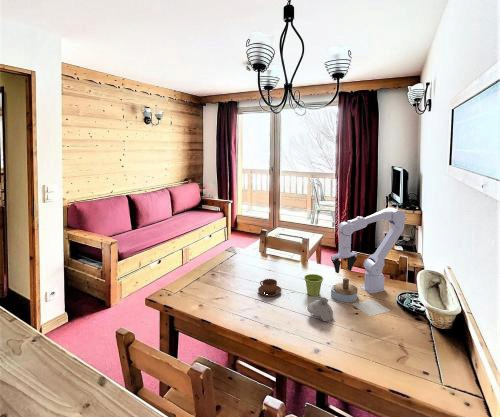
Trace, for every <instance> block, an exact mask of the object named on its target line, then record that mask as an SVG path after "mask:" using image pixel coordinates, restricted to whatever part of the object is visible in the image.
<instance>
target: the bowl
mask: <svg viewBox="0 0 500 417" xmlns="http://www.w3.org/2000/svg"><path fill="white" fill-rule="evenodd" d="M335 285H336V284H332V286H331V290H330V297H331V298H333V299H334V300H336V301H338V302H343V303H344V302H345V303H351V302H356V301H357V300H358V288H357V293H356V294H353V295H343V294H339V293H337V292H336V291H335V290H334V286H335Z"/></svg>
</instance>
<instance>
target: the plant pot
mask: <svg viewBox="0 0 500 417" xmlns="http://www.w3.org/2000/svg"><path fill="white" fill-rule="evenodd" d="M303 279H304V281H305V287H306V293H307V295H309V296H311V297H313V296H314V297H316V296H319V295H320V292H321V287H322V283H323V280H324V277H323V276H322V275H319V274H316V273H315V274H314V273H311V274H309V273H308V274H305V275H304V277H303Z"/></svg>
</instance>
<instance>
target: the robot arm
mask: <svg viewBox="0 0 500 417" xmlns="http://www.w3.org/2000/svg"><path fill="white" fill-rule="evenodd" d="M382 220H386V221H388V223H389V225H390V229H389V230H388V232H387V233H386V235H385V236H384V238H383V240H382V241H381V243H380V244H379V246H378V247H377V249H376V250H375V252H374V253H372V254H370V255H369V256H368V257H367V258H366V259H364V261H363V268H365V271H364V284H363V286H360V288H361V290H364V291H365V292H367V293H369V294H376V293H379V292H385V291H386V289H385V280H386V277H385V274H383V268H384V266H385V259H386V257H387V256H388V254H389V253H390V251H391V250H392V248H393V247H394V246H395V243H396V242H397V241H398V239H399V238H400V236H401V235H402V234H403V231H404V230H405V223H406V220H407V215H406V213H405V212H404V211H403V210H400V209H397V208H395V207H393V206H389V207H387V208H383V209H382V210H380V211H377V212H374V213H373V214H371V215H367V216H366V217H363V216H359V215H358V216H356V218H353V219H349V220H347V221H342V222H340V224H338V226H337V230H338V231H339V235H338V236H339V238H338V253H336V254H331V255H330V260H331V262H332V265H333V267H334V272H335V273H336V274H340V268H341V265H342V261H341V260H342V259H346V261H347V271H349V272H352V270H353V268H354V267H353V266H354V265H355V263H356V261H357V260H358V258H357V257H358V253H357V252H355V251H353V252H352V251H351V249H352V248H351V247H352V246H351V244H352V234H353V233H354V232H356V231H359V230H362V229H364V228H366V227H367V226H368V225H369V224H372V223H375V222H378V221H382ZM340 259H341V260H340Z"/></svg>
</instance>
